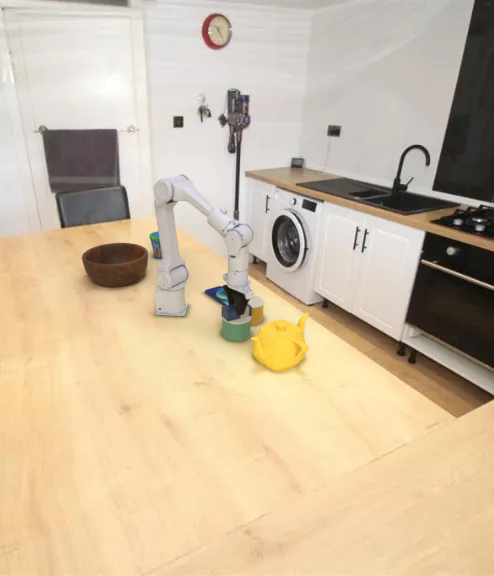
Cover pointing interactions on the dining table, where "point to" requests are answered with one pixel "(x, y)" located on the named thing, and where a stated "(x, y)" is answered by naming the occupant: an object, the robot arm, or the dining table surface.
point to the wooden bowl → (115, 264)
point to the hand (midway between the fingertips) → (236, 311)
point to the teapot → (280, 344)
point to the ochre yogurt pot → (256, 309)
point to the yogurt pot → (236, 329)
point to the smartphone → (218, 294)
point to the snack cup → (156, 244)
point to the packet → (234, 312)
